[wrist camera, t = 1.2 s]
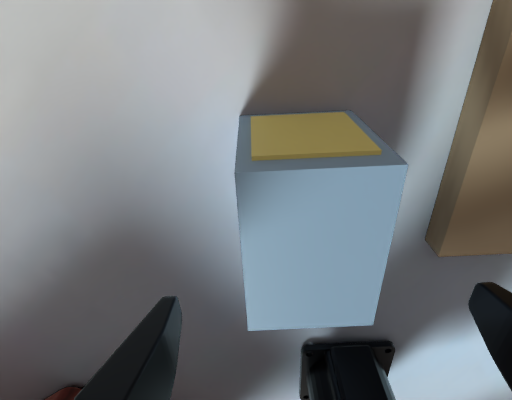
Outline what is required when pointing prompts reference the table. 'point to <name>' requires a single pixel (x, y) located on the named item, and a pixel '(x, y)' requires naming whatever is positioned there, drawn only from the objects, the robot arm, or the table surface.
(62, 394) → the plant pot
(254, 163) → the box
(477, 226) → the shelf board
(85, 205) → the table surface
